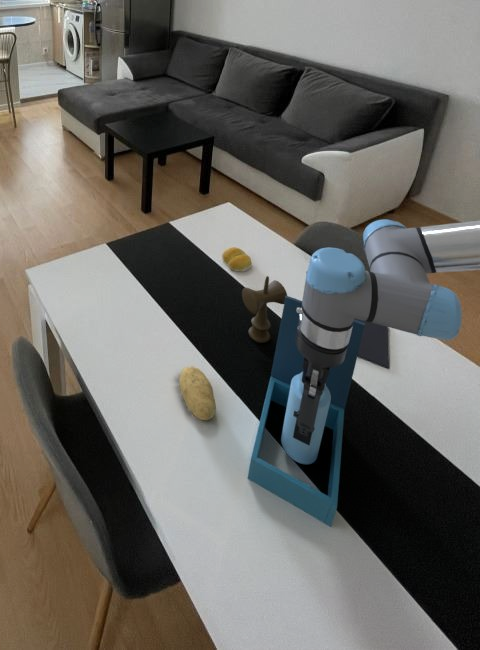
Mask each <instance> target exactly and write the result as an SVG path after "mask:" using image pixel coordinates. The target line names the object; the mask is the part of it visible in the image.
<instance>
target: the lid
mask: <svg viewBox="0 0 480 650" xmlns="http://www.w3.org/2000/svg"><path fill="white" fill-rule="evenodd" d="M298 307H299V308H301V307H302V300H301V299H297V298H295V297H291V296H289V295H287V296H286V297H285V302H284V304H283V308H282V313H281V320H280V324H279V330H278V335H277V341H276V345H275V350H274V351H275V352H274V357H273V361H272V362H273V363H272V366H271V367H272V368H271V372H270V377H274V378H276V379H278V380H280V381H282V382H285V383H287V384H289V385H291V381H292V379H293V377H294V376H296V375H298V374H300V373H301V372H303V370H304V369H303V361H304V356H303V355H302V354H301V352H300V351H299V350H298V348H297V345H296V341H295V338H296V332H297V327H298V324H299V318H300V314H299V313H297V312H296V309H297V308H298ZM364 327H365V323H363V322H360V321H357V320H354V322H353V328H352V332H351V336H350V340H349V343H348V347H347V351H346V355H345V359H344V361H343V362H342V363H341V364H340V365H339V366H336V367H330V369H329V375H328V377H327V378H326V381H325V384H326V386H327V388H328V389H329V392H330V395H331V401H330V403H331V404H334V405H336V406H338V407H340V408H342V409H344V410H345V409H346V405H347V401H348V397H349V393H350V388H351V386H352V385H351V384H352V381H353V377H354V372H355V369H356V363H357V360H358V357H357V356H358V352H359V348H360V343H361V339H362V335H363V331H364Z"/></svg>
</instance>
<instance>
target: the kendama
mask: <svg viewBox="0 0 480 650" xmlns="http://www.w3.org/2000/svg"><path fill="white" fill-rule="evenodd" d="M286 296H288V293H287V290H286V288H285V287H284V285H283V284H282V283H281V282H279V280H273V281H271V282H270V277H269V276H268V275H266V277H265V280H264V285H263V289H259V290H256V289H255V290H254V289H252V288H249V287H244V288H243V289H242V291H241V298H242V301H243V304H244V306H245V308H246V309H247V310H248V312H250V313H251V314H253V315H255V316H254V317H252V318H251V319H250V321H251V325H252V326H251V327H249V329H248V335H249V337H250V339H252V340H253V341H254V342H256V343H258V344H264V343H265V344H266V343H267V342H269V341H270V339H271V335H270V333H269V331H268V330H270V328H271V322H270V321H269V319H268V307H267V306H268V304H269V303H276V304H280V305H284V302H285V297H286Z"/></svg>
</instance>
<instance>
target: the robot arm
mask: <svg viewBox="0 0 480 650" xmlns="http://www.w3.org/2000/svg"><path fill="white" fill-rule="evenodd" d="M362 239H363V252H364V253H365V256H366V259H367V263H368V267H369V270H366V267H365V265H364V262H362V260H361V259H360V258H359V257H358V256H356V255H355V254H353V253H349V252H346V250H344V249H342V248H338V247H323V248H319V249H317V250H315V251H314V252H313V253H312V255H311V257H310V260H309V263H308V267H307V270H306V272H305V281H304V286H303V294H302V300H301V301H302V307H301V308H299V307H298V308H297V309H296V312H297V313H299V314H300V318H299V324H298V327H297V332H296V338H295V341H296V345H297V348H298V350H299V351H300V352H301V354H302V355H303V356H304V361H303V369H304V370H303V375H302V382H303V384H304V386H303V387H304V388H303V393H302V399H301V404H300V409H299V410H298V412H297V411H294V414H293V416H294V417H296V418H297V419H296V424H295V429H294V434H293V438H295V439H297V440H299V441H301V442H303V443H305V444H307V445H310V441H311V436H312V433H313V431H314V424H315V419H316V415H317V410H318V405H319V401H320V397H321V395H322V391H323V390H324V386H325V381H326V378H327V377H328V375H329V369H330V367H336V366H339V365H340V364H341V363H342V362H343V361H344V359H345V355H346V351H347V347H348V343H349V340H350V336H351V332H352V328H353V322H354V318H355V319H359V320H363V321H367V322H371V323H375V324H379V325H382V326H386V327H388V328H390V329H394V330H398V331H402V332H406V333H409V334H413V335H416V336H418V337H426V338H431V339H437V340H442V341H452V340H454V339H455V338H457V336H458V335H459V332H460V330H461V327H462V319H463V318H462V317H463V315H462V313H463V311H462V305H461V301H460V299H459V296H458V295H457V294H456V293H455V292H454V291H453V290H451V289H450V288H448V287H444V286H441V285H439V284H436V283H434V284H433V283H431V281H430V280H429V278H428V275H429V274H438V273H439V274H440V273H453V272H455V273H456V272H469V271H480V219H477V220H469V221H461V222H452V223H442V224H435V225H433V224H432V225H425V226H419V227H408V228H407V227H406V226H405V225H404V224H403V223H401V222H400V221H397V220H392V219H391V220H390V219H377V220H374V221H373V222H371V223H369V224H368V225H367V226H366V227H365V229H364V231H363V234H362ZM307 367H308V370H307ZM306 372H307V376H308V377H307V376H306ZM321 379H322V381H321ZM319 381H321V382H319Z"/></svg>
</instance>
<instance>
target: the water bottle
mask: <svg viewBox="0 0 480 650" xmlns="http://www.w3.org/2000/svg"><path fill="white" fill-rule="evenodd" d="M307 370H308V367H307ZM302 375H303V372H301V373H300V374H298V375H296V376H294V377H293V379H292V381H291V386H290V392H289V397H288V403H287V408H286V407H285V408H286V409H285V414H284V419H283V425H282V430H281V437H280V442H281V446H282V448H283V451H284V452H285V453H286V454H287V456H288V457H290V458H291V460H293V461H295V462H297V463H299V464H302V465H311V464H313V463H315V462H316V460H317V459H318V455H319V451H320V447H321V442H322V439H323V434H324V430H325V427H326V426H325V422H326V418H327V413H328V409H329V405H330V401H331V395H330V392H329V389H328V388H327V386H326V384H325V386H324V390H323V391H322V395H321V397H320V401H319V405H318V410H317V415H316V419H315V424H314V431H313V433H312V436H311V441H310V445H307V444H305V443H303V442H301V441H299V440H297V439H295V438H293V434H294V429H295V424H296V419H297V418H296V417H294V416H293V414H294V411H297V412H298V410H299V409H300V404H301V399H302V393H303V388H304V387H303V386H304V384H303V382H302ZM306 376H307V372H306ZM307 377H308V376H307ZM321 381H322V379H321ZM321 381H319V382H321Z"/></svg>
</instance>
